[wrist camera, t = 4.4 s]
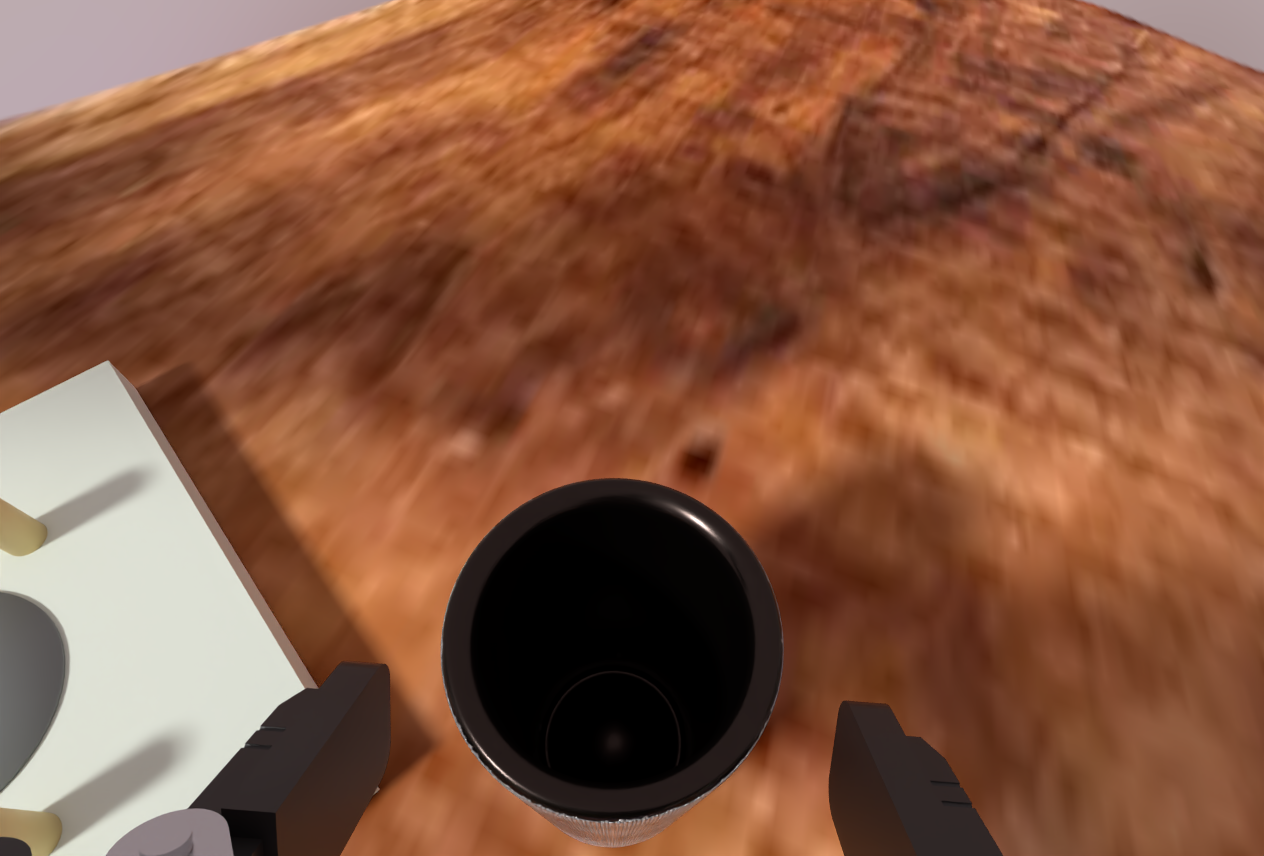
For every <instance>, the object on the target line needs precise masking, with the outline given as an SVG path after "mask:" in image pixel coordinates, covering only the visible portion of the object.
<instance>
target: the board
mask: <svg viewBox="0 0 1264 856" xmlns="http://www.w3.org/2000/svg"><path fill="white" fill-rule="evenodd" d="M306 688H315V689H318V687H317V685H316V684H315V682H314V680H313V679H312V677H311V675H310V674H309V672H308V671H307V669H306V667H305V666H304V664H303V662H302V661H301V659H300V657H299V656H298V654H297V652H296V651H295V649H294V648H293V646H292V644H291V643H290V641H289V639H288V638H287V636H286V634H285V633H284V631H283V629H282V628H281V626H280V625H279V623H278V621H277V620H276V618H275V616H274V615H273V613H272V611H271V610H270V608H269V606H268V605H267V603H266V602H265V600H264V598H263V597H262V595H261V593H260V592H259V590H258V588H257V587H256V585H255V583H254V582H253V580H252V579H251V577H250V575H249V574H248V572H247V570H246V569H245V567H244V565H243V564H242V562H241V560H240V559H239V557H238V556H237V554H236V552H235V551H234V549H233V547H232V546H231V544H230V542H229V541H228V539H227V537H226V536H225V534H224V533H223V531H222V529H221V528H220V526H219V524H218V523H217V521H216V519H215V518H214V516H213V514H212V513H211V511H210V510H209V508H208V506H207V505H206V503H205V501H204V500H203V498H202V496H201V495H200V493H199V491H198V490H197V488H196V487H195V485H194V483H193V482H192V480H191V478H190V477H189V475H188V473H187V472H186V470H185V469H184V467H183V465H182V464H181V462H180V460H179V459H178V457H177V455H176V454H175V452H174V450H173V449H172V447H171V446H170V444H169V442H168V441H167V439H166V437H165V436H164V434H163V432H162V431H161V429H160V427H159V426H158V424H157V423H156V421H155V419H154V418H153V416H152V414H151V413H150V411H149V409H148V408H147V406H146V404H145V403H144V401H143V400H142V398H141V396H140V395H139V393H138V391H137V390H136V388H135V387H134V386H133V385H132V384H131V383H130V382H129V381H128V380H127V379H126V378H125V377H124V376H123V375H122V374H121V373H120V372H119V371H118V370H117V369H116V368H115V367H114V366H113V365H112V364H111V363H110V362H109V361H108V360H107V361H105V362H103V363H101V364H99V365H97V366H95V367H93V368H91V369H89V370H87V371H85V372H83V373H81V374H79V375H77V376H75V377H73V378H71V379H69V380H67V381H65V382H63V383H61V384H59V385H57V386H55V387H53V388H51V389H49V390H47V391H45V392H43V393H41V394H38V395H36V396H34V397H32V398H30V399H28V400H26V401H24V402H22V403H20V404H18V405H16V406H14V407H12V408H10V409H8V410H6V411H4V412H2V413H0V837H12V838H17V839H20V840H22V841H24V842H25V843H27V844H28V846H29V847H30V848H31V852H32V856H106V854H107V853H108V851H109V850H110V849H111V848H112V846H113V845H114V844H115V843H116V842H117V841H118V840H119V839H121V838H122V837H123V836H124V835H125V834H127V833H128V832H130V831H131V830H132V829H134V828H135V827H137V826H139V825H141V824H142V823H144V822H146V821H148V820H150V819H153V818H155V817H157V816H160V815H163V814H166V813H169V812H173V811H177V810H183V809H187V808H188V807H189V806H190V805H191V804H192V803H193V802H194V801H195V799H196V798H197V797H198V796H199V795H200V794H201V793H202V791H203V790H204V789H205V788H206V787H207V786H208V785H209V784H210V782H211V781H212V780H213V779H214V778H215V777H216V776H217V774H218V773H219V772H220V771H221V770H222V769H223V768H224V767H225V765H226V764H227V763H228V762H229V761H230V760H231V759H232V757H233V756H234V755H235V754H236V753H237V752H238V751H239V750H240V748H244V746H245V743H246V742H247V740H248V739H249V738H250V737H251V736H252V735H253V734H254V733H255V731H256V730H260V726H261V725H262V724H263V722H264V721H265V720H266V719H267V718H268V717H269V716H270V714H271V713H272V712H273V711H274V710H275V709H276V708H277V707H278V705H280V704H281V703H283V702H284V701H286V700H288V699H289V698H291V697H293V696H294V695H296V694H297V693H299V692H301V691H302V690H304V689H306ZM379 790H380V789H379V787H377V789H376V791H375V793H376V792H378V791H379ZM375 793H374V794H375ZM374 794H373V795H374Z"/></svg>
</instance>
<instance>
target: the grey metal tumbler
mask: <svg viewBox="0 0 1264 856" xmlns="http://www.w3.org/2000/svg"><path fill="white" fill-rule="evenodd" d="M783 657H784V642H783V630H782V623H781V617H780V612H779V608H778V604H777V600H776V597H775V594H774V591H773V588H772V586H771V584H770V581H769V579H768V577H767V575H766V573H765V571H764V569H763V567H762V565H761V563H760V562H759V560H758V558H757V557H756V555H755V553H754V552H753V551H752V549H751V548H750V547H749V545H748V544H747V543H746V541H745V540H744V539H743V538H742V537H741V535H740V534H739V533H738V532H737V531H736V530H735V529H734V528H733V527H732V526H731V525H730V524H729V523H728V522H727V521H726V520H724V519H723V518H722V517H721V516H720V515H718V514H717V513H716V512H714V511H713V510H712V509H710V508H709V507H707V506H706V505H704V504H703V503H701V502H699V501H698V500H696V499H694V498H692V497H690V496H688V495H686V494H684V493H682V492H679V491H677V490H674V489H672V488H669V487H666V486H663V485H660V484H656V483H651V482H647V481H641V480H635V479H624V478H605V479H593V480H586V481H581V482H576V483H572V484H568V485H564V486H561V487H558V488H555V489H553V490H550V491H548V492H545V493H543V494H541V495H539V496H537V497H535V498H533V499H531V500H529V501H528V502H526V503H524V504H523V505H521V506H520V507H518V508H517V509H515V510H514V511H512V512H511V513H510V514H508V515H507V516H506V517H505V518H503V519H502V520H501V521H500V522H499V523H498V524H497V525H496V526H495V527H493V528H492V529H491V531H490V532H489V533H488V534H487V535H486V536H485V537H484V538H483V539H482V541H481V542H480V543H479V544H478V545H477V547H476V548H475V550H474V551H473V552H472V554H471V555H470V557H469V558H468V560H467V562H466V563H465V565H464V567H463V568H462V570H461V572H460V574H459V576H458V578H457V580H456V583H455V585H454V587H453V590H452V592H451V595H450V598H449V602H448V605H447V609H446V613H445V617H444V622H443V629H442V638H441V667H442V676H443V683H444V688H445V692H446V697H447V700H448V703H449V707H450V710H451V713H452V715H453V718H454V720H455V722H456V725H457V727H458V729H459V731H460V733H461V734H462V736H463V738H464V740H465V742H466V743H467V745H468V746H469V748H470V749H471V751H472V752H473V754H474V755H475V756H476V758H477V759H478V760H479V761H480V763H481V764H482V765H483V766H484V767H485V768H486V769H487V771H488V772H489V773H490V774H491V775H492V776H493V777H494V778H495V779H496V780H497V781H498V782H500V783H501V784H502V785H503V786H504V787H505V788H506V789H508V790H509V791H510V792H511V793H513V794H514V795H515V796H517V797H518V798H519V799H521V800H522V801H523V802H525V803H526V804H527V805H528V806H530V807H531V808H532V809H534V810H535V811H536V812H538V813H539V814H540V815H542V816H543V817H544V818H545V819H547V820H548V821H549V822H551V823H552V824H553V825H555V826H556V827H557V828H559V829H560V830H561V831H562V832H564V833H566V834H567V835H569V836H570V837H572V838H574V839H576V840H579V841H581V842H584V843H587V844H590V845H595V846H600V847H624V846H630V845H633V844H637V843H640V842H643V841H645V840H647V839H650V838H652V837H653V836H655V835H657V834H659V833H660V832H662V831H663V830H664V829H666V828H667V827H668V826H669V825H671V824H672V823H673V822H675V821H676V820H677V819H678V818H680V817H681V816H682V815H683V814H685V813H686V812H687V811H688V810H690V809H691V808H692V807H693V806H695V805H696V804H697V803H698V802H700V801H701V800H702V799H704V798H705V797H706V796H707V795H709V794H710V793H711V792H712V791H713V790H715V789H716V788H717V787H718V786H719V785H721V784H722V783H723V782H724V781H725V780H726V779H727V778H728V777H729V776H730V775H731V774H732V773H733V772H734V771H735V770H736V769H737V768H738V767H739V766H740V764H741V763H742V762H743V761H744V760H745V759H746V757H747V756H748V755H749V753H750V752H751V751H752V749H753V748H754V746H755V745H756V743H757V741H758V740H759V738H760V736H761V735H762V733H763V731H764V729H765V727H766V725H767V723H768V721H769V719H770V716H771V713H772V711H773V708H774V705H775V702H776V699H777V696H778V692H779V687H780V683H781V677H782V670H783Z"/></svg>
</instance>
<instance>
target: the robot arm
mask: <svg viewBox="0 0 1264 856" xmlns="http://www.w3.org/2000/svg"><path fill="white" fill-rule="evenodd" d="M390 743H391V727H390V673H389V668H388V666H387V665H386V664H379V663H366V662H353V661H343V662H341V663H340V664H339V665H338V666H337V667H336V669H335V670H334V671H333V672H332V673H331V675H330V676H329V677H328V678H327V680H326V681H325V682H324V683H323V684H322V686H321V687H320V688H319V689H315V688H306V689H304V690H302V691H301V692H299V693H297V694H296V695H294V696H293V697H291V698H289V699H288V700H286V701H284V702H283V703H281V704H280V705H278V707H277V708H276V709H275V710H274V711H273V712H272V713H271V714H270V716H269V717H268V718H267V719H266V720H265V721H264V722H263V724H262V725H261V726H260V730H256V731H255V733H254V734H253V735H252V736H251V737H250V738H249V739H248V740H247V742H246V743H245V746H244V748H240V750H239V751H238V752H237V753H236V754H235V755H234V756H233V757H232V759H231V760H230V761H229V762H228V763H227V764H226V765H225V767H224V768H223V769H222V770H221V771H220V772H219V773H218V774H217V776H216V777H215V778H214V779H213V780H212V781H211V782H210V784H209V785H208V786H207V787H206V788H205V789H204V790H203V791H202V793H201V794H200V795H199V796H198V797H197V798H196V799H195V801H194V802H193V803H192V804H191V805H190V806H189V807H188V808H187V809H183V810H177V811H173V812H169V813H166V814H163V815H160V816H157V817H155V818H153V819H150V820H148V821H146V822H144V823H142V824H141V825H139V826H137V827H135V828H134V829H132V830H131V831H130V832H128V833H127V834H125V835H124V836H123V837H122V838H121V839H119V840H118V841H117V842H116V843H115V844H114V845H113V846H112V848H111V849H110V850H109V851H108V853H107V854H106V856H340V855H341V853H342V851H343V849H344V847H345V846H346V844H347V842H348V840H349V838H350V836H351V835H352V833H353V831H354V829H355V827H356V826H357V824H358V822H359V820H360V818H361V816H362V815H363V813H364V811H365V809H366V807H367V805H368V804H369V802H370V800H371V798H372V796H373V794H374V793H375V791H376V789H377V787H378V785H379V783H380V782H381V780H382V777H383V775H384V772H385V769H386V766H387V762H388V758H389V752H390ZM829 803H830V810H831V815H832V819H833V822H834V825H835V828H836V831H837V834H838V837H839V840H840V844H841V847H842V850H843V853H844V856H1003V855H1002V853H1001V851H1000V850H999V848H998V846H997V845H996V843H995V841H994V840H993V838H992V836H991V835H990V833H989V831H988V830H987V828H986V826H985V825H984V823H983V821H982V820H981V818H980V816H979V815H978V813H977V811H976V810H975V808H972V803H971V801H970V799H969V798H968V796H967V794H966V793H965V791H964V789H963V788H960V783H959V781H958V779H957V778H956V776H955V774H954V773H953V771H952V769H951V768H950V766H949V764H948V763H947V761H946V759H945V758H944V757H943V756H941V755H940V754H939V753H938V752H937V751H936V750H935V749H933V748H932V747H931V746H930V745H929V744H928V743H927V742H925V741H924V740H923V739H922V738H921V737H912V736H905V734H904V732H903V730H902V728H901V726H900V724H899V723H898V721H897V719H896V717H895V715H894V713H893V712H892V710H891V708H890V707H889V706H888V705H887V704H881V703H868V702H855V701H843V702H842V703H841V705H840V708H839V712H838V719H837V726H836V733H835V740H834V747H833V754H832V761H831V768H830V775H829ZM0 856H32V852H31V848H30V847H29V846H28V844H27V843H25V842H24V841H22V840H20V839H17V838H12V837H0Z"/></svg>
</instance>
